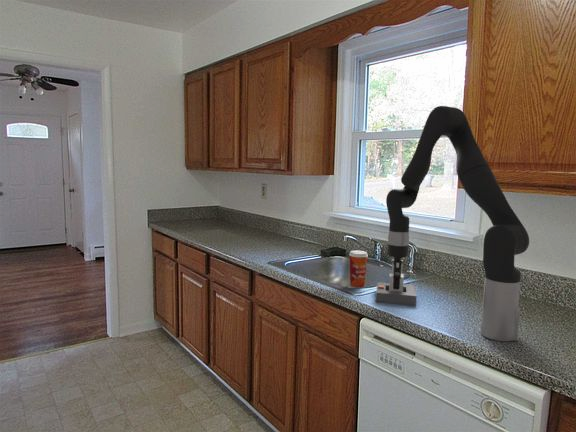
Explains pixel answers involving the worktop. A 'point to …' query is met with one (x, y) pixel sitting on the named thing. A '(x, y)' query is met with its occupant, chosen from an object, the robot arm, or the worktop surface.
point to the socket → (396, 294)
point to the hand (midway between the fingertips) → (396, 285)
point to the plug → (392, 283)
